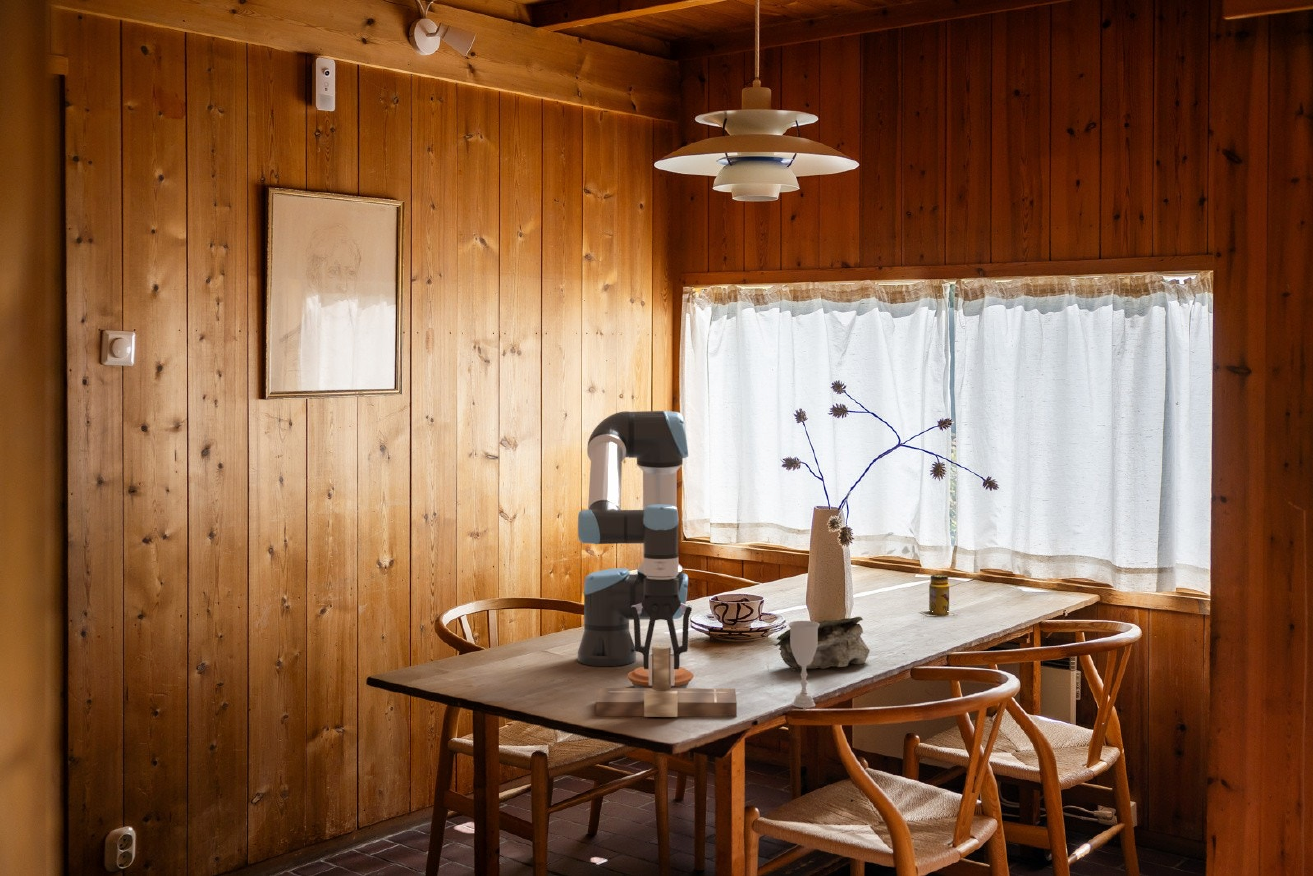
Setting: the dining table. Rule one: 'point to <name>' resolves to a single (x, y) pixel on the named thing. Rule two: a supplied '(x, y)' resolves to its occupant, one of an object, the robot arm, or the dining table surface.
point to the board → (687, 702)
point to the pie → (642, 681)
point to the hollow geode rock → (830, 645)
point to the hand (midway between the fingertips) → (661, 683)
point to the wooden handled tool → (660, 686)
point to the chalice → (803, 654)
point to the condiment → (938, 596)
